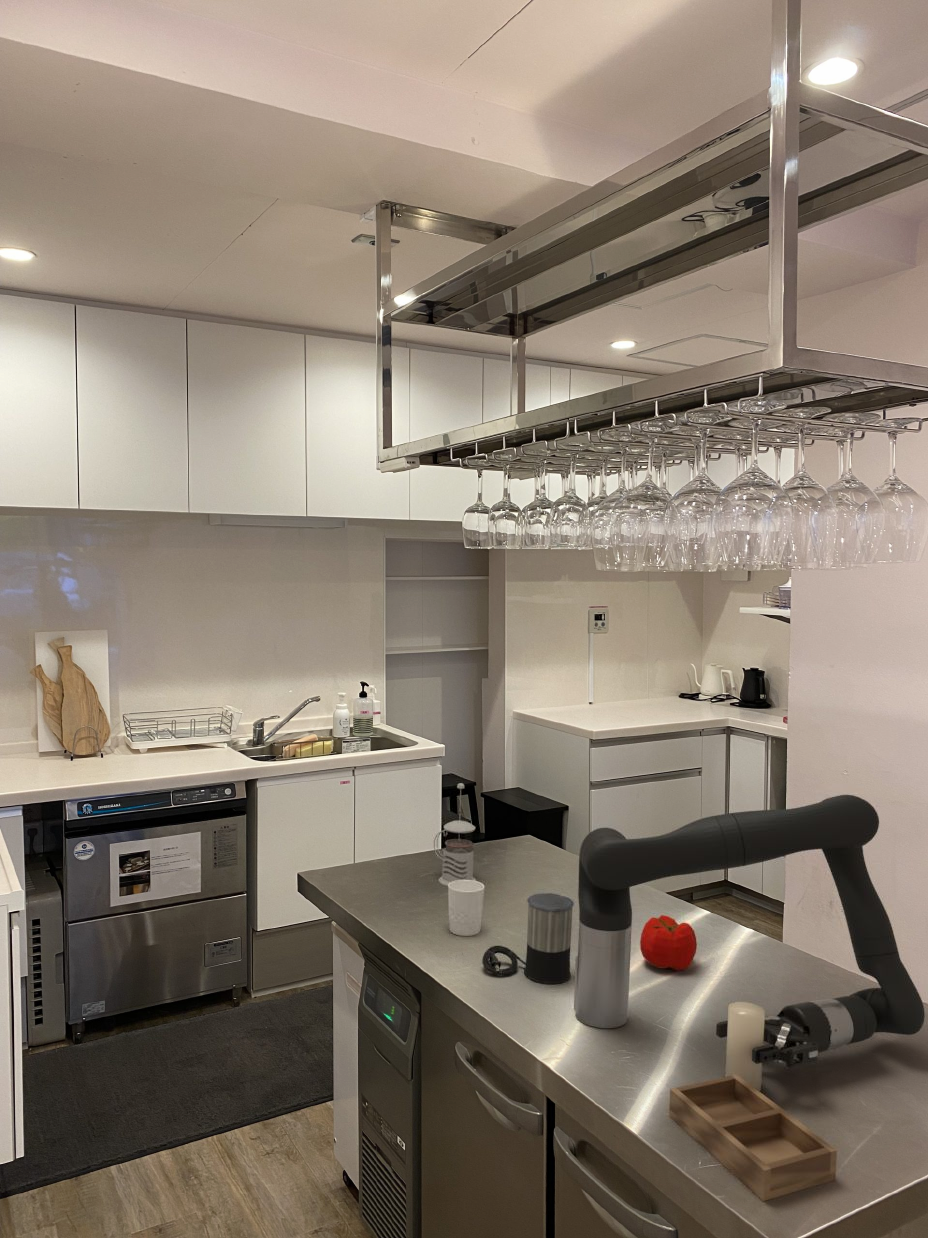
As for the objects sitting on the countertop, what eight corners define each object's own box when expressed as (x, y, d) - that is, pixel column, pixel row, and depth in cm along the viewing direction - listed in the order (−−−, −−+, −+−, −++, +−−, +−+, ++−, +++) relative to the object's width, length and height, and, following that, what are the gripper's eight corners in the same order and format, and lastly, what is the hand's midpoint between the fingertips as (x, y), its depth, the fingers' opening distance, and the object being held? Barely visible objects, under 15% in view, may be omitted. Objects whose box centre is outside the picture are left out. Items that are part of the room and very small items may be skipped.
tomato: (627, 960, 193) (629, 917, 193) (671, 950, 199) (673, 908, 199) (663, 981, 184) (665, 935, 184) (708, 969, 190) (710, 925, 190)
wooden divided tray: (669, 1116, 138) (670, 1089, 138) (735, 1100, 143) (736, 1074, 142) (763, 1201, 119) (764, 1170, 119) (835, 1180, 124) (836, 1150, 124)
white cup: (463, 940, 201) (464, 894, 200) (439, 929, 207) (440, 884, 206) (490, 932, 206) (491, 887, 206) (466, 921, 212) (467, 877, 212)
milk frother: (580, 980, 183) (583, 905, 182) (511, 995, 176) (514, 917, 175) (540, 953, 196) (543, 882, 195) (474, 966, 188) (476, 893, 187)
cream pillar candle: (717, 1079, 148) (721, 1005, 148) (745, 1073, 150) (748, 999, 150) (740, 1097, 143) (744, 1020, 143) (768, 1091, 146) (772, 1015, 145)
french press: (466, 889, 233) (470, 789, 232) (425, 881, 238) (428, 783, 237) (483, 878, 242) (486, 782, 241) (442, 871, 247) (445, 776, 246)
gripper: (785, 985, 159) (706, 999, 152) (851, 1023, 146) (768, 1041, 139) (783, 1029, 159) (704, 1045, 153) (848, 1071, 146) (765, 1090, 139)
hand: (735, 1043), depth 146 cm, fingers open, 8 cm apart
